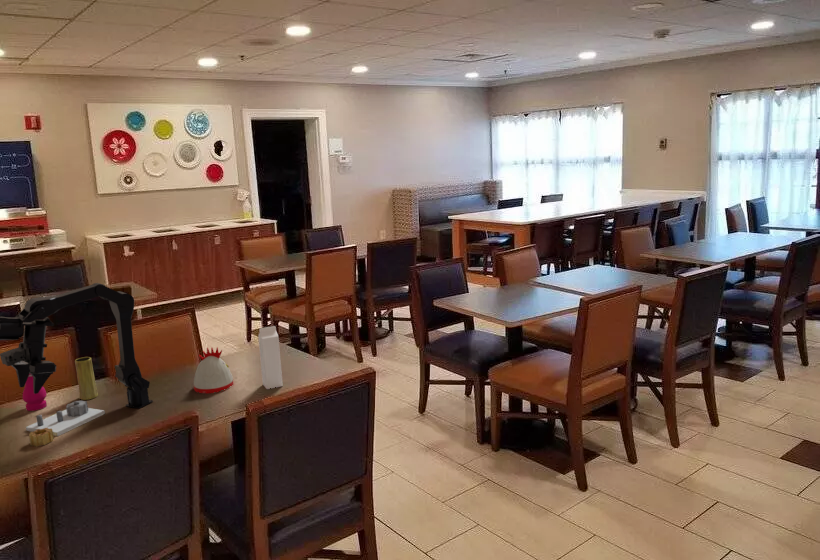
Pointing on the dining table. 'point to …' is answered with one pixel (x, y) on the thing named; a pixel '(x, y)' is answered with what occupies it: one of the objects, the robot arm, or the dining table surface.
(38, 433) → the gear
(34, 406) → the pepper mill
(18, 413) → the dining table surface
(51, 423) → the gear board
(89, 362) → the vase
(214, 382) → the kitchen timer
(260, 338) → the milk
